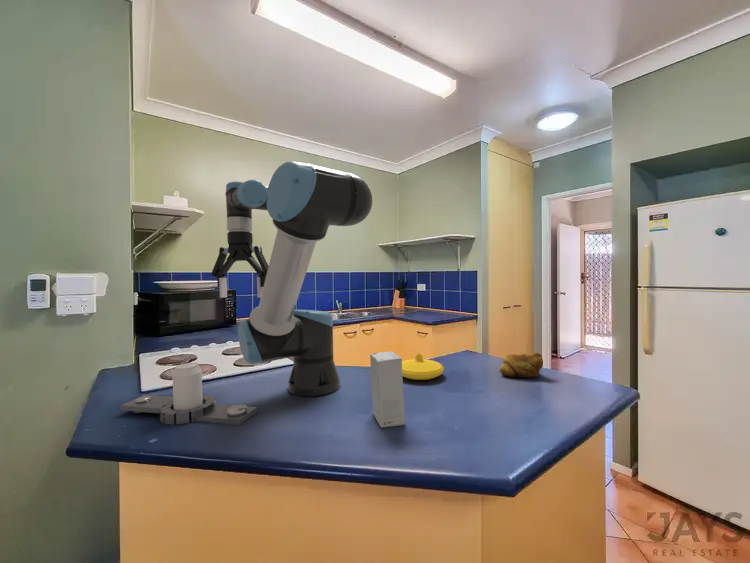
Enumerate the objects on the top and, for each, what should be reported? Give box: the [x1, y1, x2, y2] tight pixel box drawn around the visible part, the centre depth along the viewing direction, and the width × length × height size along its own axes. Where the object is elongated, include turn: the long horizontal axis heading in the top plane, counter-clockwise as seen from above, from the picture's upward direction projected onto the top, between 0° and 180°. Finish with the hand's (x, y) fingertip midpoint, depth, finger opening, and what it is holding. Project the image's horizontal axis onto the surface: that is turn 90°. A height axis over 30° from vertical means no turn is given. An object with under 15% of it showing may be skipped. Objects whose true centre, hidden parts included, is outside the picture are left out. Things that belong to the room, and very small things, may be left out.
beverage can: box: [172, 362, 203, 411], centre depth 80 cm, size 6×6×12 cm
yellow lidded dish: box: [402, 353, 445, 381], centre depth 105 cm, size 16×16×7 cm
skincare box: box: [369, 351, 406, 428], centre depth 74 cm, size 8×6×15 cm
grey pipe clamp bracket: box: [119, 394, 258, 426], centre depth 80 cm, size 33×12×3 cm, turn 78°
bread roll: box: [499, 352, 544, 379], centre depth 104 cm, size 13×10×8 cm
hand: (242, 297), depth 105 cm, fingers open, 13 cm apart
